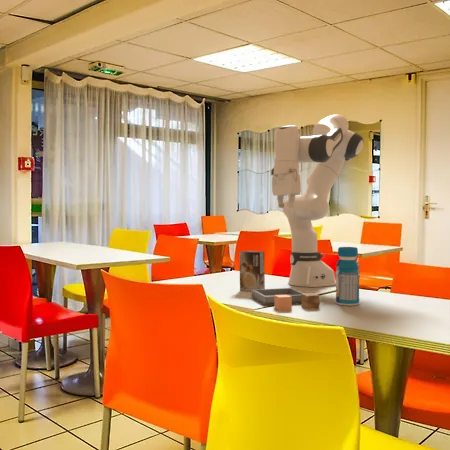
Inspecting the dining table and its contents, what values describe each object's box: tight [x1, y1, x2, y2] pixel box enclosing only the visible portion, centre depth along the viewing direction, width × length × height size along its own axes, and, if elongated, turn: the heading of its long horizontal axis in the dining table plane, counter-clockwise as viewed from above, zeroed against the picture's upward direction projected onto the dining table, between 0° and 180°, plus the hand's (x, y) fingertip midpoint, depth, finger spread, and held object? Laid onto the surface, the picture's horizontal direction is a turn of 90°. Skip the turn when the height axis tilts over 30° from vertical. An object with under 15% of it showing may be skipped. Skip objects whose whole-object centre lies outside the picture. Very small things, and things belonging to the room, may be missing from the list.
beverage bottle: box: [334, 246, 361, 307], centre depth 190 cm, size 8×8×20 cm
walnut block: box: [301, 292, 320, 310], centre depth 185 cm, size 4×4×4 cm
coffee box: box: [238, 250, 266, 293], centre depth 219 cm, size 9×6×16 cm
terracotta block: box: [273, 295, 293, 311], centre depth 183 cm, size 4×4×4 cm
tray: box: [251, 287, 306, 306], centre depth 198 cm, size 16×16×3 cm
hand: (285, 208), depth 196 cm, fingers open, 8 cm apart
